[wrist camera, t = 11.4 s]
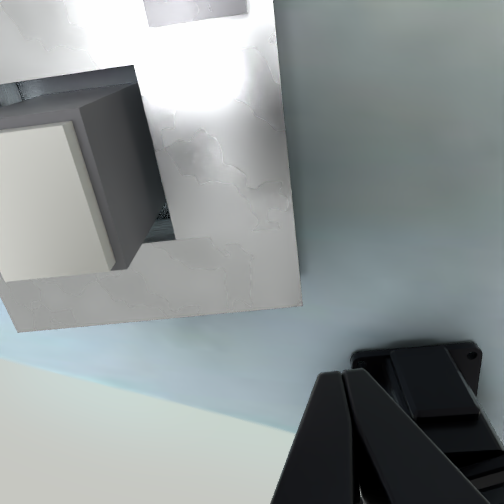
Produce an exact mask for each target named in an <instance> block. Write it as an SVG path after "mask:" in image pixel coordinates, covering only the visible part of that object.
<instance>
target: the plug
mask: <svg viewBox="0 0 504 504" xmlns="http://www.w3.org/2000/svg"><path fill="white" fill-rule="evenodd" d="M165 203H166V199H165V195H164V191H163V186H162V182H161V178H160V173H159V169H158V165H157V161H156V156H155V152H154V148H153V143H152V139H151V135H150V131H149V126H148V122H147V118H146V114H145V109H144V105H143V101H142V97H141V92H140V88H139V84H138V82H135V83H128V84H120V85H113V86H106V87H98V88H91V89H84V90H76V91H69V92H62V93H54V94H47V95H40V96H37V97H34V98H31V99H27V100H24V101H21V102H18V103H14V104H11V105H8V106H4V107H1V108H0V273H1V275H2V277H3V279H4V281H5V282H9V281H19V280H29V279H39V278H50V277H60V276H70V275H80V274H90V273H101V272H110V271H115V270H125V269H128V267H129V266H130V264H131V262H132V260H133V259H134V257H135V255H136V253H137V252H138V250H139V248H140V247H141V245H142V243H143V241H144V240H145V238H146V236H147V234H148V233H149V231H150V229H151V227H152V226H153V224H154V222H155V220H156V219H157V217H158V215H159V213H160V212H161V210H162V208H163V206H164V205H165Z"/></svg>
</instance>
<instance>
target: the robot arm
mask: <svg viewBox="0 0 504 504" xmlns="http://www.w3.org/2000/svg"><path fill="white" fill-rule="evenodd" d="M470 352H472V353H471V354H468V353H470ZM359 361H364V362H362V363H358V362H359ZM481 361H482V351H481V350H480V348H479V347H478V345H477V344H475V343H460V344H448V345H436V346H424V347H412V348H400V349H388V350H376V351H364V352H357V353H355V354H353V356H352V357H351V369H350V370H344V371H343V372H342V374H341V372H339V371H331V372H322V373H320V374H319V375H318V376H317V379H316V382H315V384H314V387H313V390H312V392H311V395H310V398H309V400H308V403H307V406H306V409H305V411H304V414H303V417H302V419H301V422H300V425H299V427H298V430H297V433H296V436H295V439H294V441H293V444H292V446H291V449H290V452H289V454H288V458H287V460H286V463H285V465H284V468H283V471H282V473H281V476H280V479H279V482H278V484H277V487H276V490H275V492H274V495H273V498H272V500H271V503H270V504H504V446H503V444H502V442H501V441H500V439H499V437H498V435H497V434H496V432H495V430H494V428H493V426H492V425H491V423H490V421H489V419H488V418H487V416H486V414H485V412H484V410H483V409H482V407H481V405H480V403H479V402H478V400H477V398H476V396H477V389H478V382H479V375H480V368H481ZM360 491H361V496H362V497H361V496H360Z"/></svg>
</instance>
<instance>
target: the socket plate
mask: <svg viewBox="0 0 504 504" xmlns="http://www.w3.org/2000/svg"><path fill="white" fill-rule="evenodd" d="M133 64H134V68H135V72H136V76H137V80H138V84H139V88H140V92H141V97H142V101H143V105H144V109H145V113H146V117H147V121H148V126H149V130H150V134H151V138H152V142H153V146H154V150H155V155H156V159H157V163H158V167H159V171H160V175H161V179H162V184H163V188H164V192H165V196H166V200H167V204H168V208H169V213H170V217H171V218H168V219H160V220H155V222H154V224H153V226H152V227H151V229H150V231H149V233H148V234H147V236H146V238H145V240H144V241H143V243H142V245H141V247H140V248H139V250H138V252H137V253H136V255H135V257H134V259H133V260H132V262H131V264H130V266H129V267H128V269H125V270H115V271H110V272H101V273H90V274H80V275H70V276H60V277H50V278H39V279H29V280H19V281H9V282H5V281H4V279H3V277H2V275H1V273H0V297H1V299H2V301H3V303H4V305H5V307H6V309H7V312H8V314H9V316H10V318H11V320H12V322H13V324H14V326H15V328H16V330H17V332H18V333H20V332H30V331H41V330H52V329H62V328H73V327H84V326H94V325H105V324H116V323H126V322H137V321H148V320H158V319H169V318H180V317H190V316H201V315H212V314H222V313H233V312H244V311H255V310H265V309H276V308H287V307H297V306H303V303H302V293H301V283H300V273H299V263H298V253H297V242H296V232H295V222H294V212H293V202H292V192H291V181H290V171H289V161H288V151H287V141H286V131H285V120H284V110H283V100H282V90H281V80H280V70H279V59H278V49H277V39H276V29H275V19H274V9H273V0H0V108H1V107H4V106H8V105H11V104H14V103H18V102H21V101H22V98H21V95H20V93H19V90H18V87H17V84H16V82H19V81H26V80H33V79H39V78H46V77H53V76H59V75H66V74H73V73H79V72H86V71H93V70H99V69H106V68H113V67H120V66H126V65H133Z"/></svg>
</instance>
